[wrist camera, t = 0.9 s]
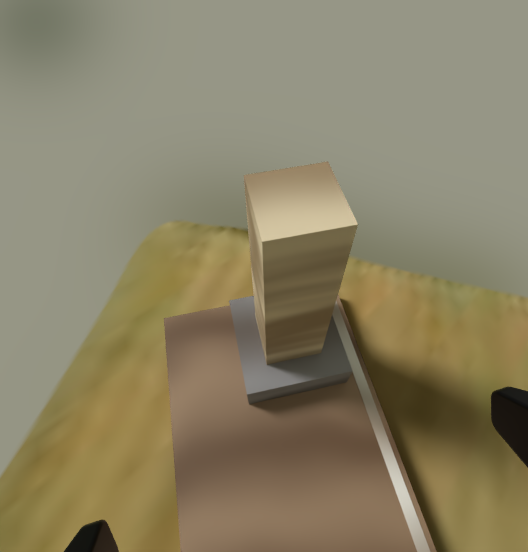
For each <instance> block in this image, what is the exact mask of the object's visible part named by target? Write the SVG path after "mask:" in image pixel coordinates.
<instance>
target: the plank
mask: <svg viewBox="0 0 528 552" xmlns="http://www.w3.org/2000/svg"><path fill="white" fill-rule="evenodd" d="M332 315H333V318H334V321H335V324H336V326H337V329H338V332H339V335H340V337H341V340H342V343H343V346H344V349H345V351H346V354H347V357H348V360H349V362H350V365H351V368H352V373H351V375H350V377H349V379H348V381H347V382H346V383H342V384H337V385H333V386H328V387H324V388H319V389H315V390H311V391H306V392H302V393H297V394H293V395H288V396H284V397H280V398H275V399H271V400H266V401H262V402H257V403H253V404H249V403H248V398H247V392H246V387H245V382H244V377H243V371H242V366H241V361H240V355H239V350H238V345H237V339H236V334H235V329H234V324H233V318H232V313H231V308H230V306H224V307H219V308H214V309H209V310H204V311H199V312H194V313H189V314H184V315H179V316H174V317H169V318H164V326H165V339H166V353H167V367H168V381H169V395H170V408H171V422H172V436H173V450H174V464H175V478H176V491H177V505H178V519H179V533H180V547H181V552H437V551H436V549H435V546H434V543H433V541H432V538H431V535H430V533H429V530H428V528H427V525H426V522H425V520H424V517H423V515H422V512H421V509H420V507H419V504H418V502H417V499H416V496H415V494H414V491H413V488H412V486H411V483H410V481H409V478H408V475H407V473H406V470H405V468H404V465H403V462H402V460H401V457H400V455H399V452H398V449H397V447H396V444H395V441H394V439H393V436H392V434H391V431H390V428H389V426H388V423H387V421H386V418H385V415H384V413H383V410H382V408H381V405H380V402H379V400H378V397H377V395H376V392H375V389H374V387H373V384H372V381H371V379H370V376H369V374H368V371H367V368H366V366H365V363H364V361H363V358H362V355H361V353H360V350H359V348H358V345H357V342H356V340H355V337H354V334H353V332H352V329H351V327H350V324H349V321H348V319H347V316H346V314H345V311H344V308H343V306H342V303H341V301H340V298H339V295H338V296H337V299H336V303H335V306H334V310H333V313H332Z"/></svg>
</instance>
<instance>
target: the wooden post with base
mask: <svg viewBox="0 0 528 552" xmlns="http://www.w3.org/2000/svg"><path fill="white" fill-rule="evenodd" d="M244 183H245V195H246V206H247V207H246V208H247V220H248V232H249V244H250V256H251V268H252V281H253V293H254V296H250V297H245V298H240V299H235V300H230V301H229V302H230V308H231V313H232V318H233V324H234V329H235V334H236V339H237V345H238V350H239V355H240V361H241V366H242V371H243V377H244V382H245V387H246V392H247V398H248V403H249V404H253V403H257V402H262V401H266V400H271V399H275V398H280V397H284V396H288V395H293V394H297V393H302V392H306V391H311V390H315V389H319V388H324V387H328V386H333V385H337V384H342V383H346V382H347V381H348V379H349V377H350V375H351V373H352V368H351V365H350V362H349V360H348V357H347V354H346V351H345V349H344V346H343V343H342V340H341V337H340V335H339V332H338V329H337V326H336V324H335V321H334V318H333V315H332V313H333V310H334V306H335V303H336V299H337V296H338V292H339V289H340V285H341V282H342V278H343V275H344V271H345V268H346V264H347V261H348V257H349V254H350V250H351V247H352V243H353V239H354V237H355V233H356V229H357V226H358V224H357V221H356V219H355V217H354V215H353V213H352V211H351V209H350V207H349V205H348V203H347V201H346V198H345V196H344V194H343V192H342V190H341V188H340V186H339V184H338V182H337V180H336V177H335V175H334V173H333V171H332V169H331V167H330V165H329V163H328V162H322V163H316V164H310V165H304V166H297V167H292V168H285V169H279V170H273V171H266V172H261V173H254V174H248V175H244Z"/></svg>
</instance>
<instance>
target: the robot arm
mask: <svg viewBox="0 0 528 552" xmlns="http://www.w3.org/2000/svg"><path fill="white" fill-rule="evenodd" d="M491 419H492V423H493V426H494V427H495V429H496V431H497V432H498V433H499V434H500V435H501V437H502V438H503V439H504V440H505V441H506V442H507V444H508V445H509V446H510V447H511V448H512V450H513V451H514V452H515V453H516V454H517V455H518V457H519V458H520V459H521V460H522V461H523V463H524V464H525V465H526V466H527V467H528V391H524V390H521V389H517V388H513V387H505V388H502V389H499V390H496V391H494V392H493V393H492V395H491ZM64 552H119V551H118V547H117V544H116V542H115V540H114V538H113V535H112V533H111V531H110V528H109V526H108V524H107V522H106V521H105V520H99V521H96V522H92V523H89V524H86V525H84V526H83V527H82V528H81V529H80V530H79V532H78V533H77V534H76V536H75V537H74V538H73V540H72V541H71V542H70V544H69V545H68V547H67V548H66V549H65V551H64Z"/></svg>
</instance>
